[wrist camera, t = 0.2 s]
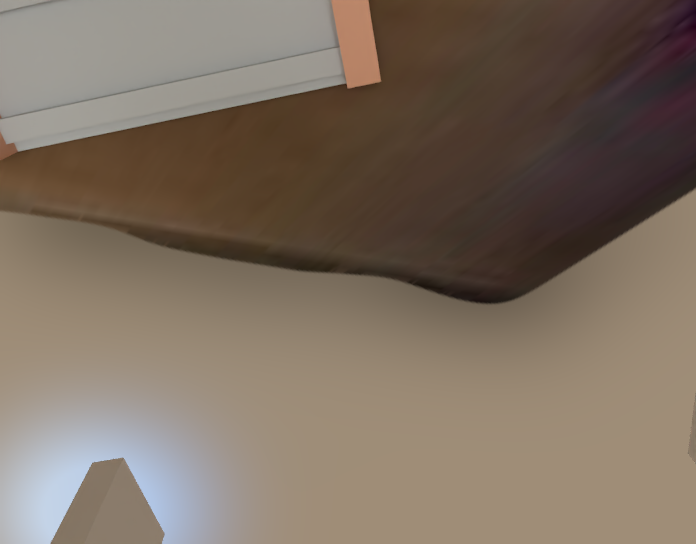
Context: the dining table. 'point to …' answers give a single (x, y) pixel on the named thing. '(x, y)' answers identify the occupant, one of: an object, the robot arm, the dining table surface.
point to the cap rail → (166, 60)
